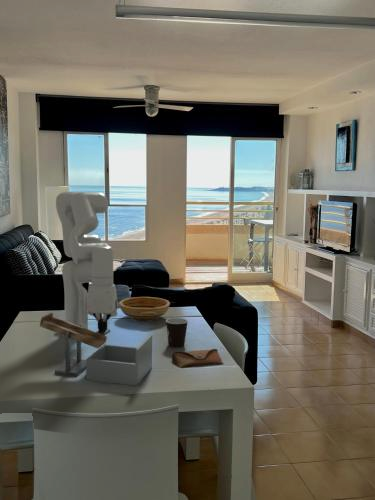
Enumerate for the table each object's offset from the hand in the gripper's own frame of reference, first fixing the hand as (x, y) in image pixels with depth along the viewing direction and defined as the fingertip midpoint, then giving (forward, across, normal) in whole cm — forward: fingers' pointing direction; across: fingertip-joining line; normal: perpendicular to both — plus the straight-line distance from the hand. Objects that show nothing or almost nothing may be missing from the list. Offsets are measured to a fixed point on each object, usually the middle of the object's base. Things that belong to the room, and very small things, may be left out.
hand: (102, 331), depth 173 cm
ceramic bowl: (+11, -3, +59) cm, 60 cm away
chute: (-1, -7, -4) cm, 8 cm away
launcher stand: (+11, -7, -9) cm, 16 cm away
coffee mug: (+12, +21, +27) cm, 36 cm away
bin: (+11, +10, -9) cm, 18 cm away
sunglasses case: (+12, +33, +10) cm, 37 cm away
